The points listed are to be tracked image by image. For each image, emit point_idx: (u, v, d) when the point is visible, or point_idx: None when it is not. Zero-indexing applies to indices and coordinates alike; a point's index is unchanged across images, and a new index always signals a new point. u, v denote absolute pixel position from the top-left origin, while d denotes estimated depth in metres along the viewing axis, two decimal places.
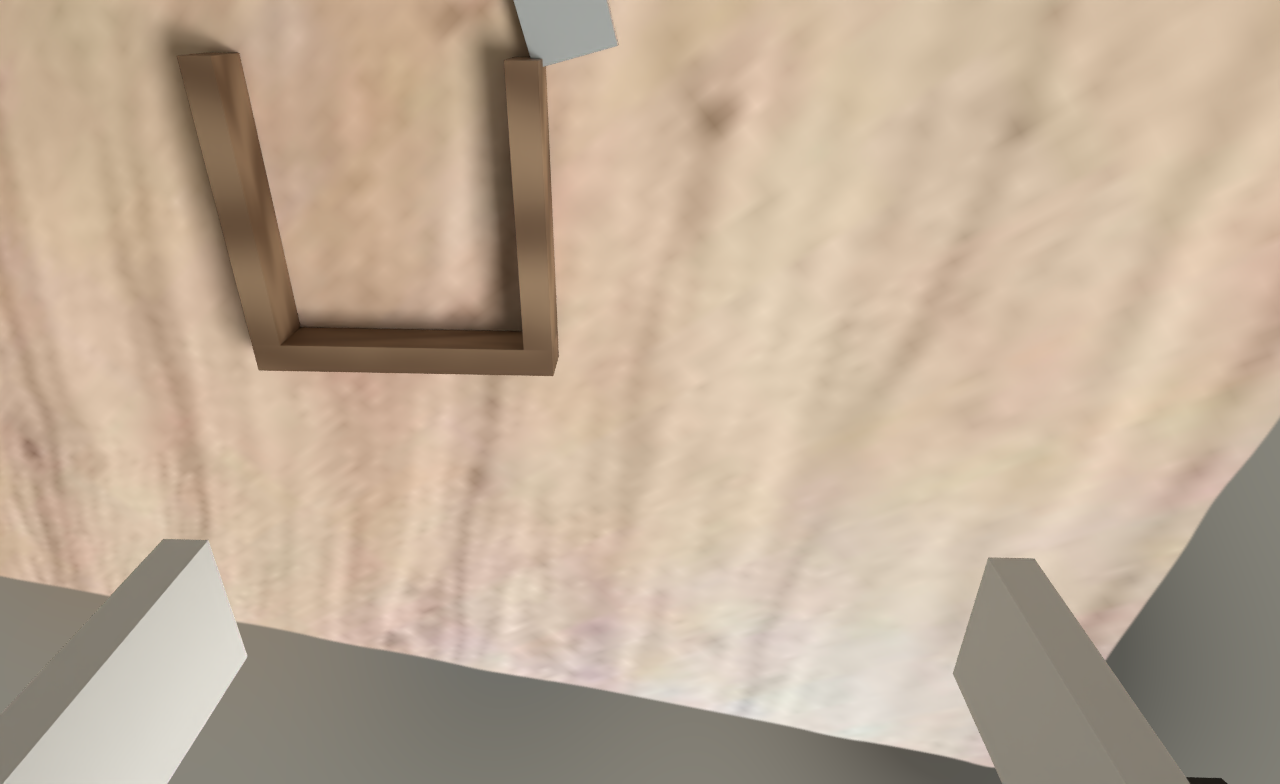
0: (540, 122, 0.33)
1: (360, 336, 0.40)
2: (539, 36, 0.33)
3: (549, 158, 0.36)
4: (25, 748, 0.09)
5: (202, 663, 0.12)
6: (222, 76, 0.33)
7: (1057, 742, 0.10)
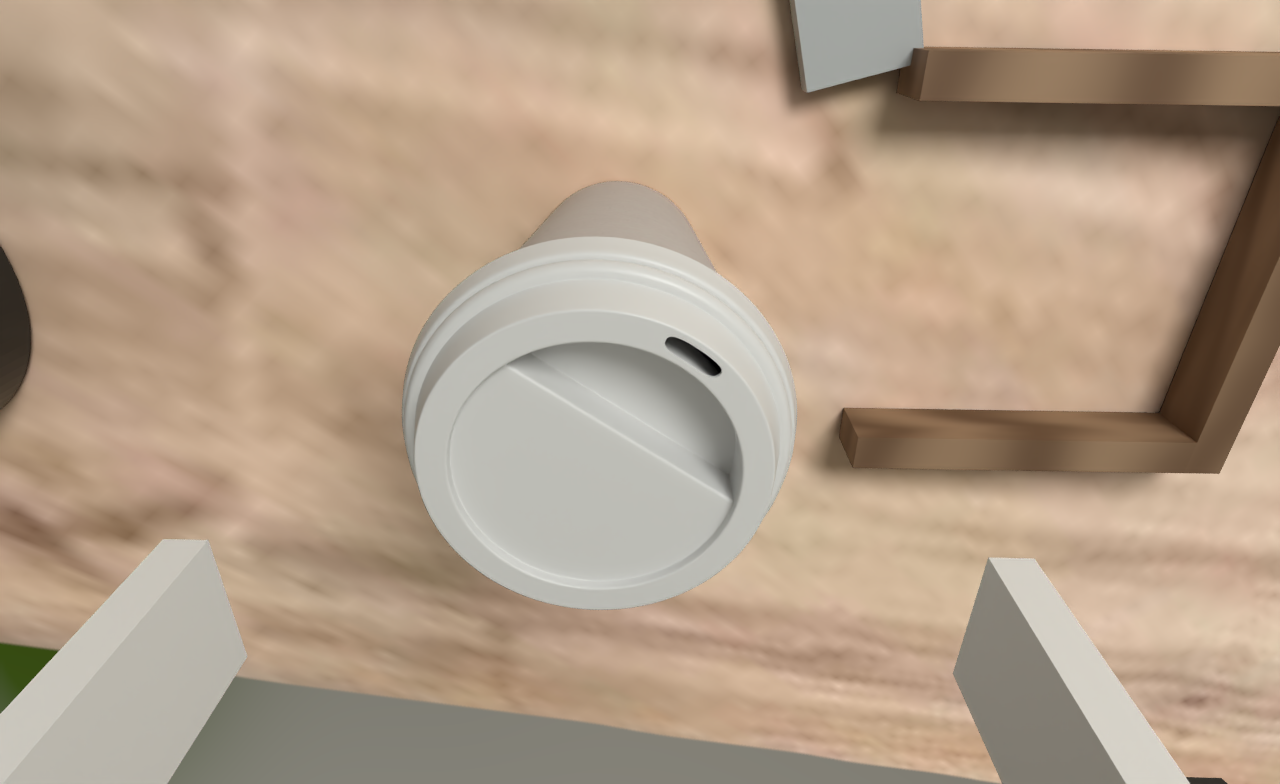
0: (1008, 52, 0.23)
1: (1208, 344, 0.29)
2: (886, 50, 0.24)
3: None
4: (25, 748, 0.09)
5: (202, 663, 0.12)
6: (876, 430, 0.30)
7: (1058, 742, 0.10)
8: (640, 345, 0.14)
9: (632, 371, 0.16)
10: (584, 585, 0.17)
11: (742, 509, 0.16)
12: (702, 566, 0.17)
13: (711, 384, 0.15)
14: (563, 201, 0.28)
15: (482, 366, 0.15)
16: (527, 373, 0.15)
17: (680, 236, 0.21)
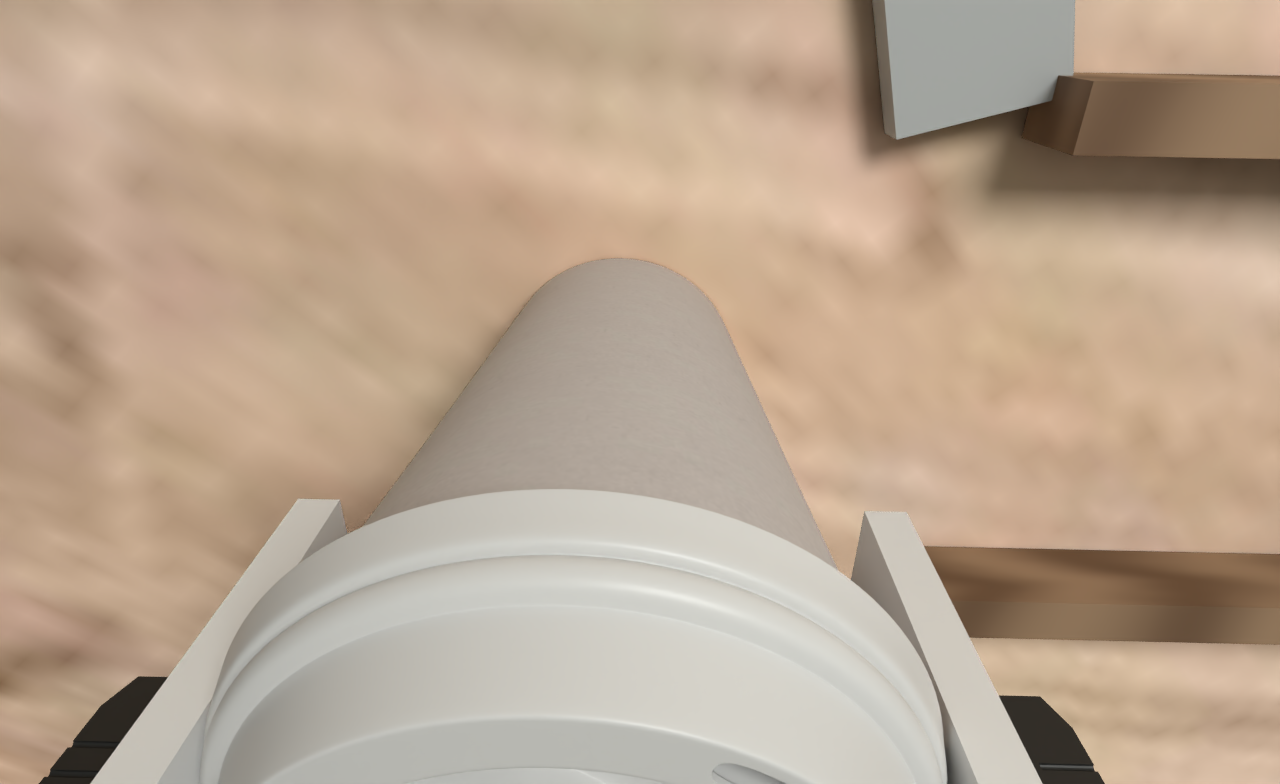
0: (1215, 83, 0.15)
1: None
2: (1017, 78, 0.16)
3: (1234, 75, 0.17)
4: None
5: None
6: (969, 588, 0.22)
7: None
8: (657, 778, 0.06)
9: None
10: None
11: None
12: None
13: None
14: (544, 285, 0.20)
15: None
16: (419, 783, 0.07)
17: (717, 384, 0.13)
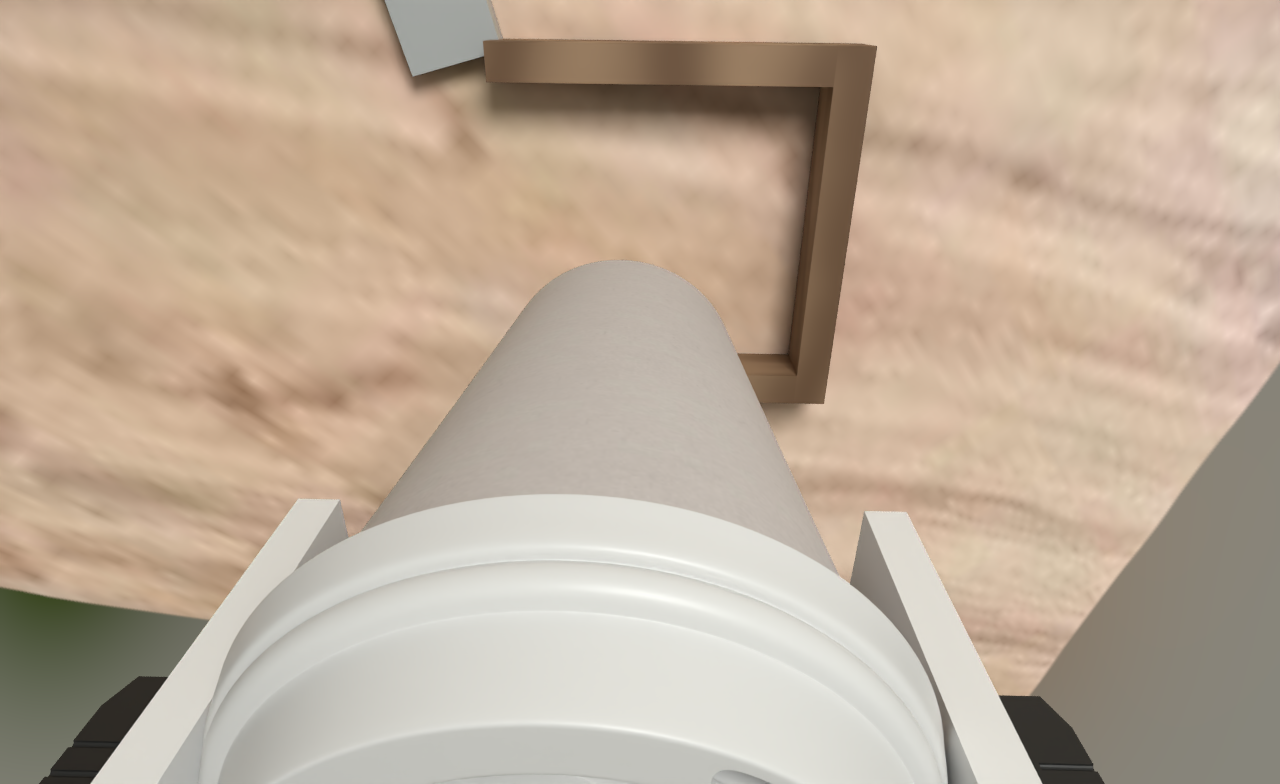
0: (548, 42, 0.29)
1: (800, 292, 0.35)
2: (468, 41, 0.30)
3: (602, 40, 0.31)
4: None
5: None
6: None
7: None
8: None
9: None
10: None
11: None
12: None
13: None
14: (543, 287, 0.20)
15: None
16: None
17: (717, 387, 0.13)
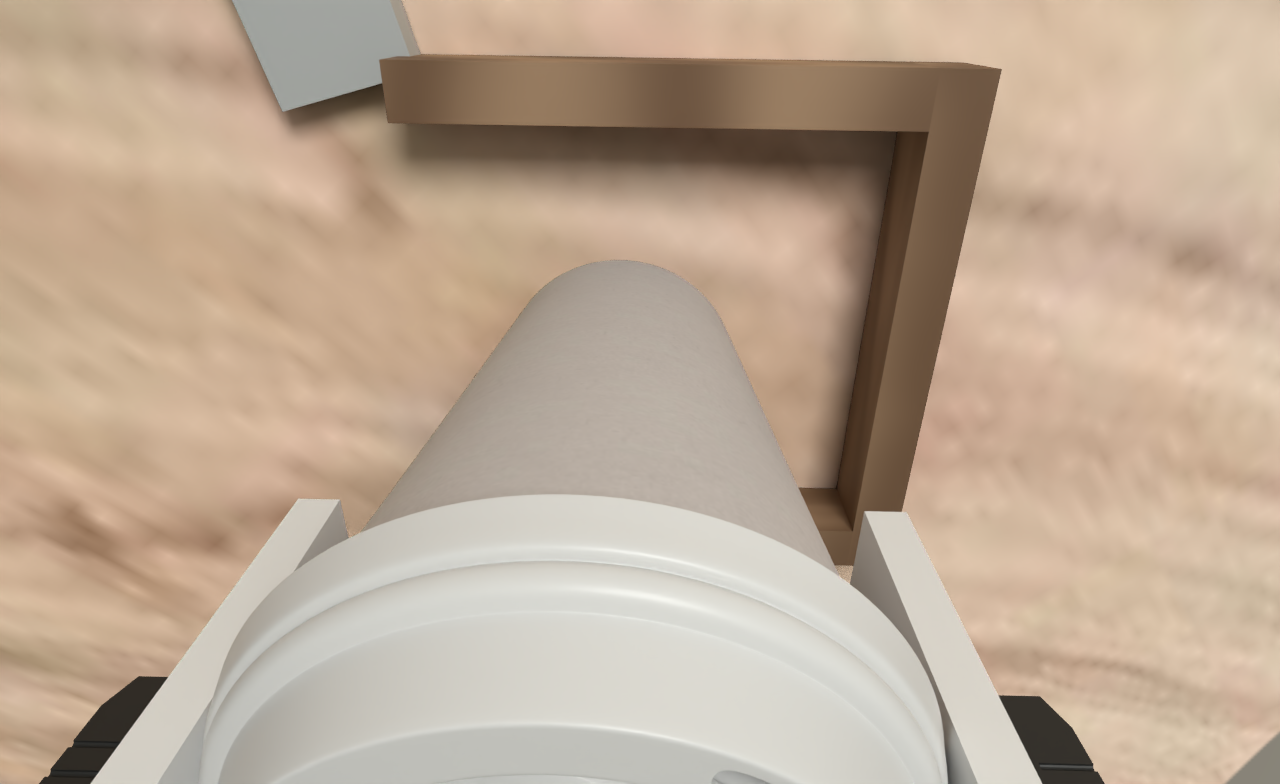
0: (482, 62, 0.18)
1: (859, 414, 0.24)
2: (364, 58, 0.19)
3: None
4: None
5: None
6: None
7: None
8: None
9: None
10: None
11: None
12: None
13: None
14: (544, 287, 0.20)
15: None
16: None
17: (717, 387, 0.13)
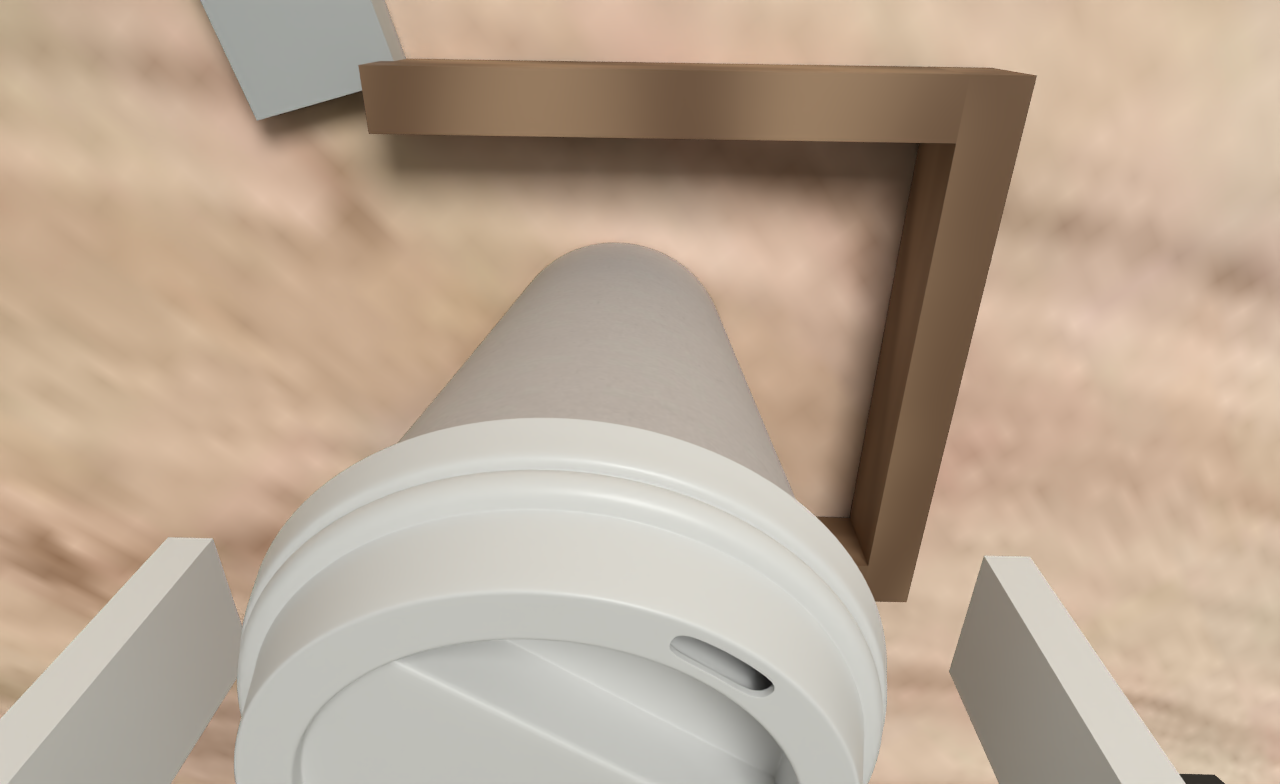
0: (470, 67, 0.17)
1: (875, 442, 0.23)
2: (344, 64, 0.18)
3: (567, 61, 0.19)
4: (33, 745, 0.09)
5: (207, 661, 0.12)
6: None
7: (1052, 739, 0.10)
8: (624, 648, 0.08)
9: None
10: None
11: None
12: None
13: (754, 708, 0.08)
14: (545, 268, 0.21)
15: (338, 665, 0.08)
16: (426, 663, 0.09)
17: (699, 351, 0.14)
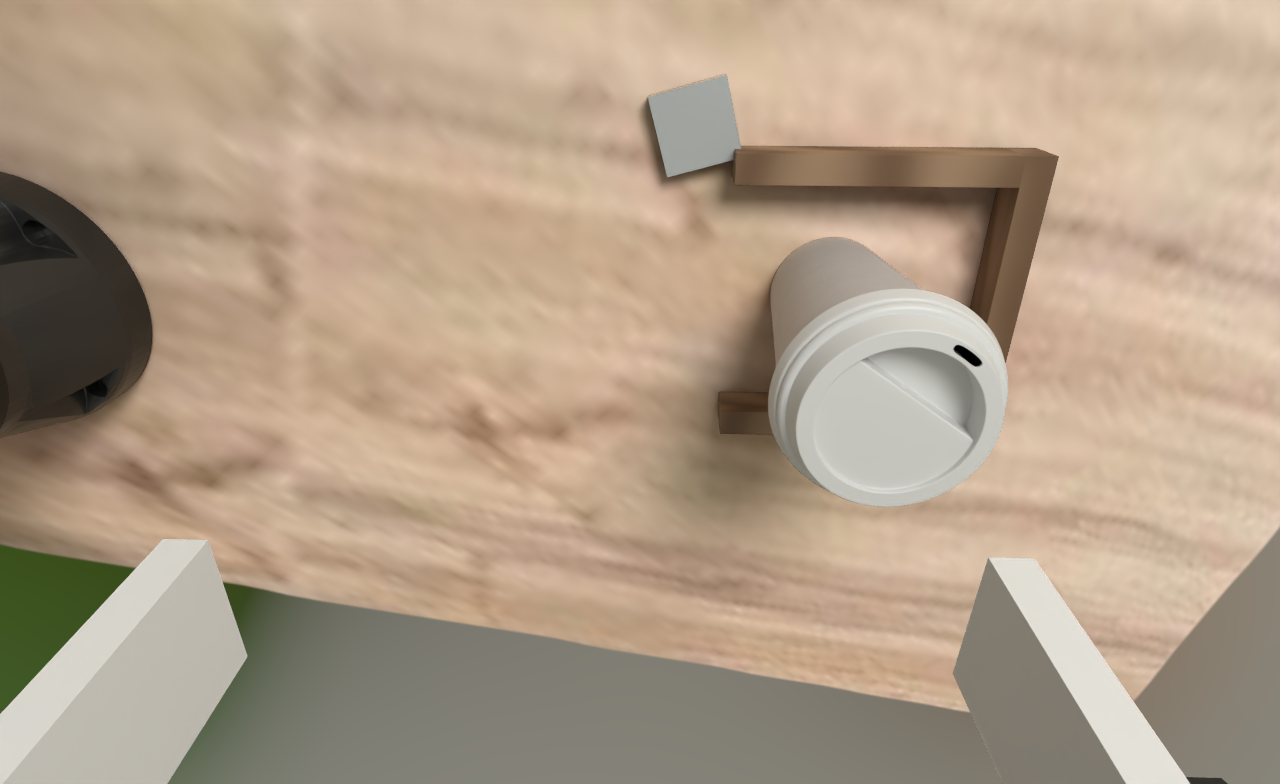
0: (789, 154, 0.36)
1: None
2: (716, 150, 0.37)
3: None
4: (25, 748, 0.09)
5: (202, 663, 0.12)
6: (736, 407, 0.43)
7: (1058, 742, 0.10)
8: (940, 349, 0.26)
9: (918, 364, 0.28)
10: (876, 491, 0.30)
11: (980, 444, 0.28)
12: (951, 479, 0.29)
13: (975, 371, 0.27)
14: (796, 250, 0.40)
15: (847, 360, 0.27)
16: (868, 364, 0.27)
17: (911, 281, 0.33)
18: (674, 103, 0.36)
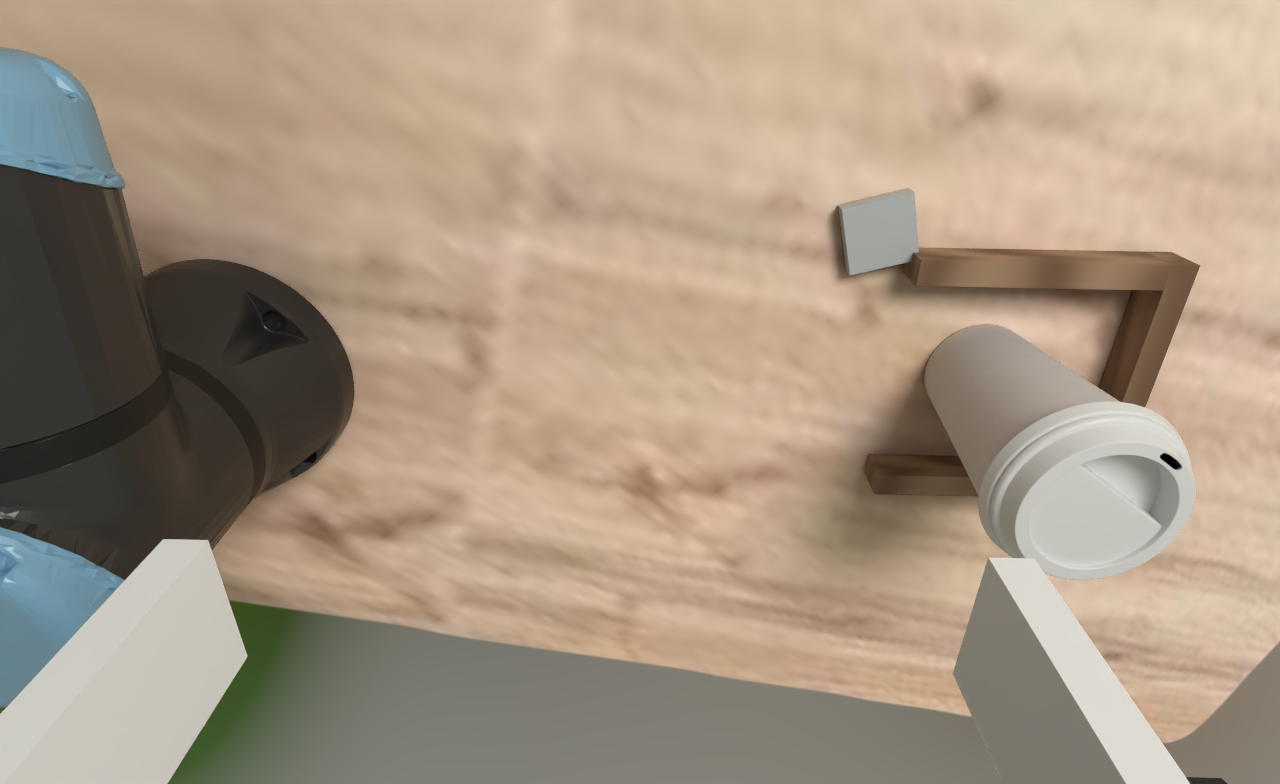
0: (967, 261, 0.41)
1: None
2: (897, 253, 0.42)
3: (986, 249, 0.43)
4: (25, 748, 0.09)
5: (202, 663, 0.12)
6: (889, 470, 0.48)
7: (1058, 742, 0.10)
8: (1149, 456, 0.32)
9: (1118, 463, 0.33)
10: (1074, 567, 0.35)
11: (1169, 530, 0.34)
12: (1140, 558, 0.34)
13: (1175, 473, 0.32)
14: (953, 336, 0.45)
15: (1069, 464, 0.32)
16: (1083, 466, 0.32)
17: None
18: (864, 214, 0.41)
